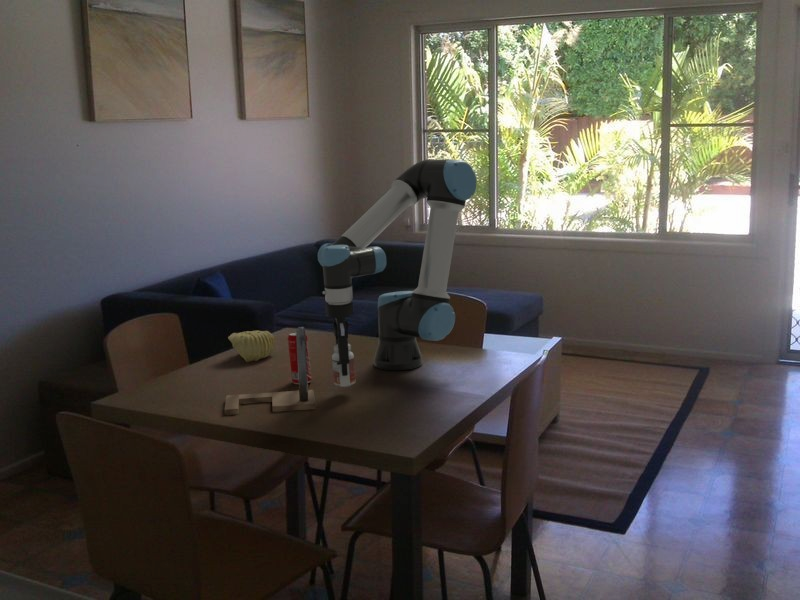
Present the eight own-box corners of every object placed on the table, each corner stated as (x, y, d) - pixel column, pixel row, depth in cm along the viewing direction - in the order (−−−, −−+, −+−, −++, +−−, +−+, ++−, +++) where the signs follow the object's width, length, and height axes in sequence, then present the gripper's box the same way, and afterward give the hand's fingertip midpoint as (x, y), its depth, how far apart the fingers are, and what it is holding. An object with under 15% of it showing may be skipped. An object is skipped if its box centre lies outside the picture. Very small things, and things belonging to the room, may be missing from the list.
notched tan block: (313, 394, 253) (313, 389, 252) (316, 408, 240) (315, 403, 240) (226, 400, 249) (226, 395, 249) (224, 415, 237) (224, 409, 236)
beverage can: (308, 385, 262) (306, 335, 259) (287, 384, 263) (284, 335, 260) (314, 379, 267) (312, 330, 265) (293, 379, 269) (291, 330, 266)
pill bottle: (350, 378, 255) (348, 341, 253) (359, 384, 250) (356, 345, 247) (330, 382, 253) (327, 344, 250) (338, 388, 247) (335, 349, 245)
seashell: (283, 363, 297) (256, 346, 307) (286, 333, 294) (258, 317, 303) (241, 373, 286) (214, 356, 295) (244, 342, 282) (217, 326, 291)
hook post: (308, 404, 244) (304, 321, 240) (309, 413, 237) (305, 328, 232) (299, 404, 244) (295, 322, 240) (300, 413, 236) (296, 328, 232)
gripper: (323, 295, 255) (328, 373, 260) (327, 310, 236) (333, 394, 241) (349, 293, 256) (354, 371, 261) (356, 308, 237) (361, 391, 242)
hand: (344, 382), depth 251 cm, fingers closed on pill bottle, 6 cm apart
